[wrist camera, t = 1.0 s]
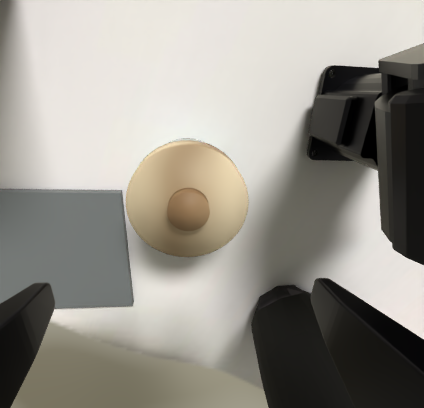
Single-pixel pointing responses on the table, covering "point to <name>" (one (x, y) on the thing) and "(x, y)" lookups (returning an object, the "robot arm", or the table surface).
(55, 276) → the mat
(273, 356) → the portable speaker
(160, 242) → the lid
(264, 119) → the table surface
